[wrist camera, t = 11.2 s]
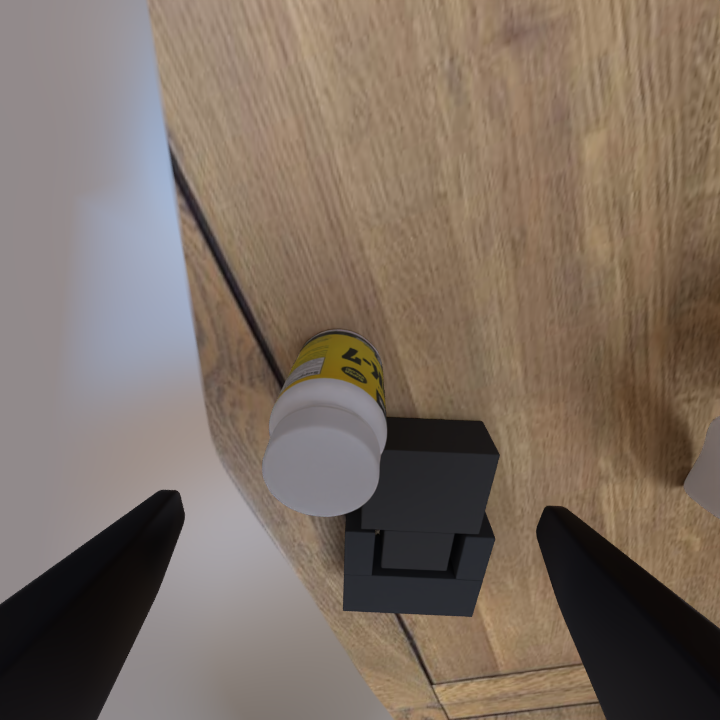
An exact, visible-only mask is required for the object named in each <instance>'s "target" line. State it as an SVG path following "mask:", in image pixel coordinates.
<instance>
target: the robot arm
mask: <svg viewBox="0 0 720 720" xmlns="http://www.w3.org/2000/svg"><path fill="white" fill-rule="evenodd" d="M184 520H185V512H184V508H183V504H182V500H181V496H180V493H179V492H178V491H176V490H160V491H158V492H156V493H155V494H154V495H152V496H151V497H149V498H148V499H147V500H145V501H144V502H142V503H141V504H140V505H138V506H137V507H135V508H134V509H133V510H131V511H130V512H129V513H127V514H126V515H124V516H123V517H122V518H120V519H119V520H117V521H116V522H114V523H113V524H112V525H110V526H109V527H108V528H106V529H105V530H103V531H102V532H100V533H99V534H98V535H96V536H95V537H94V538H92V539H91V540H89V541H88V542H87V543H85V544H84V545H82V546H81V547H80V548H78V549H77V550H75V551H74V552H73V553H71V554H70V555H68V556H67V557H66V558H64V559H63V560H61V561H60V562H59V563H57V564H56V565H55V566H53V567H52V568H50V569H49V570H47V571H46V572H45V573H43V574H42V575H41V576H39V577H38V578H36V579H35V580H33V581H32V582H31V583H29V584H28V585H26V586H25V587H24V588H22V589H21V590H19V591H18V592H17V593H15V594H14V595H13V596H11V597H10V598H8V599H7V600H5V601H4V602H3V603H1V604H0V720H97V719H98V716H99V714H100V712H101V710H102V708H103V706H104V704H105V702H106V700H107V698H108V696H109V694H110V691H111V689H112V687H113V685H114V683H115V681H116V679H117V677H118V675H119V673H120V671H121V669H122V667H123V665H124V662H125V660H126V658H127V656H128V654H129V652H130V650H131V648H132V646H133V644H134V642H135V639H136V637H137V635H138V633H139V631H140V629H141V627H142V625H143V623H144V621H145V619H146V617H147V615H148V612H149V610H150V608H151V606H152V604H153V602H154V600H155V598H156V595H157V593H158V591H159V588H160V586H161V583H162V581H163V578H164V576H165V572H166V570H167V567H168V565H169V562H170V559H171V557H172V554H173V551H174V548H175V546H176V543H177V540H178V538H179V535H180V532H181V530H182V527H183V524H184ZM536 535H537V540H538V543H539V546H540V549H541V552H542V555H543V559H544V562H545V565H546V568H547V571H548V574H549V577H550V581H551V584H552V587H553V590H554V593H555V596H556V599H557V602H558V605H559V607H560V610H561V612H562V615H563V617H564V620H565V622H566V624H567V627H568V629H569V632H570V634H571V636H572V639H573V641H574V643H575V646H576V648H577V651H578V653H579V655H580V658H581V660H582V662H583V665H584V667H585V669H586V672H587V674H588V677H589V679H590V681H591V684H592V686H593V688H594V691H595V693H596V696H597V698H598V700H599V703H600V705H601V707H602V710H603V712H604V715H605V717H606V719H607V720H720V628H718V627H717V626H716V625H714V624H713V623H712V622H711V621H709V620H708V619H707V618H706V617H704V616H703V615H702V614H700V613H699V612H698V611H697V610H695V609H694V608H693V607H692V606H690V605H689V604H688V603H686V602H685V601H684V600H683V599H681V598H680V597H679V596H678V595H676V594H675V593H674V592H672V591H671V590H670V589H669V588H667V587H666V586H665V585H664V584H662V583H661V582H660V581H658V580H657V579H656V578H655V577H653V576H652V575H651V574H650V573H648V572H647V571H646V570H644V569H643V568H642V567H641V566H639V565H638V564H637V563H636V562H634V561H633V560H632V559H630V558H629V557H628V556H627V555H625V554H624V553H623V552H622V551H620V550H619V549H618V548H616V547H615V546H614V545H613V544H611V543H610V542H609V541H608V540H606V539H605V538H604V537H602V536H601V535H600V534H599V533H597V532H596V531H595V530H594V529H592V528H591V527H590V526H588V525H587V524H586V523H585V522H583V521H582V520H581V519H580V518H578V517H577V516H576V515H574V514H573V513H572V512H571V511H569V510H568V509H567V508H565V507H562V506H546V507H545V508H544V510H543V513H542V515H541V518H540V520H539V523H538V525H537V529H536Z"/></svg>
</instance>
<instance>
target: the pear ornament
mask: <svg viewBox="0 0 720 720" xmlns="http://www.w3.org/2000/svg"><path fill="white" fill-rule="evenodd" d="M684 490H685V492H686V493H687V494H688V495H689V496H690V497H691V498H692V499H693V500H694V501H695V502H697V503H698V504H699V505H701V506H702V507H703V508H704V509H706V510H707V511H708V512H710V513H711V514H713V515H714V516H715V517H717V518H718V519H720V416H718V417H716V418H715V419H713V421H712V422H711V424H710V426H709V428H708V430H707V434H706V438H705V442H704V445H703V448H702V451H701V453H700V455H699V457H698V459H697V461H696V462H695V464H694V466H693V467H692V469H691V471H690V472H689V474H688V476H687V478H686V480H685V482H684Z"/></svg>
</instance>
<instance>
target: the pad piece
mask: <svg viewBox="0 0 720 720" xmlns="http://www.w3.org/2000/svg"><path fill="white" fill-rule="evenodd" d="M386 419H387V439H386V444H385V447H384V450H383V452H382V454H381V458H380V467H379V481H378V485H377V487H376V490H375V492H374V493H373V495H372V496H371V498H370V499H369V500H368V501H367V502H366V503H365V504H364V505H362V507H361V529H375V530H380V555H381V567H382V568H396V569H418V570H440V571H446V570H447V566H448V561H449V557H450V552H451V548H452V543H453V539H454V534H455V533H463V534H479V531H480V527H481V524H482V520H483V516H484V512H485V509H486V505H487V501H488V498H489V494H490V490H491V486H492V483H493V479H494V475H495V471H496V468H497V464H498V460H499V457H500V454H499V452H498V450H497V448H496V447H495V445H494V443H493V441H492V439H491V437H490V435H489V433H488V431H487V429H486V427H485V425H484V423H483V422H482V421H460V420H437V419H414V418H391V417H386Z"/></svg>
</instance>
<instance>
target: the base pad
mask: <svg viewBox="0 0 720 720" xmlns="http://www.w3.org/2000/svg"><path fill="white" fill-rule="evenodd" d="M361 507H362V506H361ZM361 507H359V508H358V509H356V510H354V511H352V512H349V513H346V527H345V556H344V593H343V611H358V612H379V613H401V614H423V615H444V616H466V617H472V615H473V612H474V608H475V605H476V602H477V598H478V595H479V592H480V589H481V585H482V582H483V578H484V575H485V571H486V568H487V565H488V561H489V558H490V555H491V551H492V548H493V545H494V541H495V536H494V534H493V531H492V528H491V526H490V523H489V520H488V518H487V515H486V512H484V516H483V520H482V524H481V527H480V531H479V534H463V533H455V534H454V539H453V543H452V548H451V552H450V557H449V561H448V566H447V570H446V571H440V570H418V569H396V568H382V567H381V555H380V535H375V529H361Z"/></svg>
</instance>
